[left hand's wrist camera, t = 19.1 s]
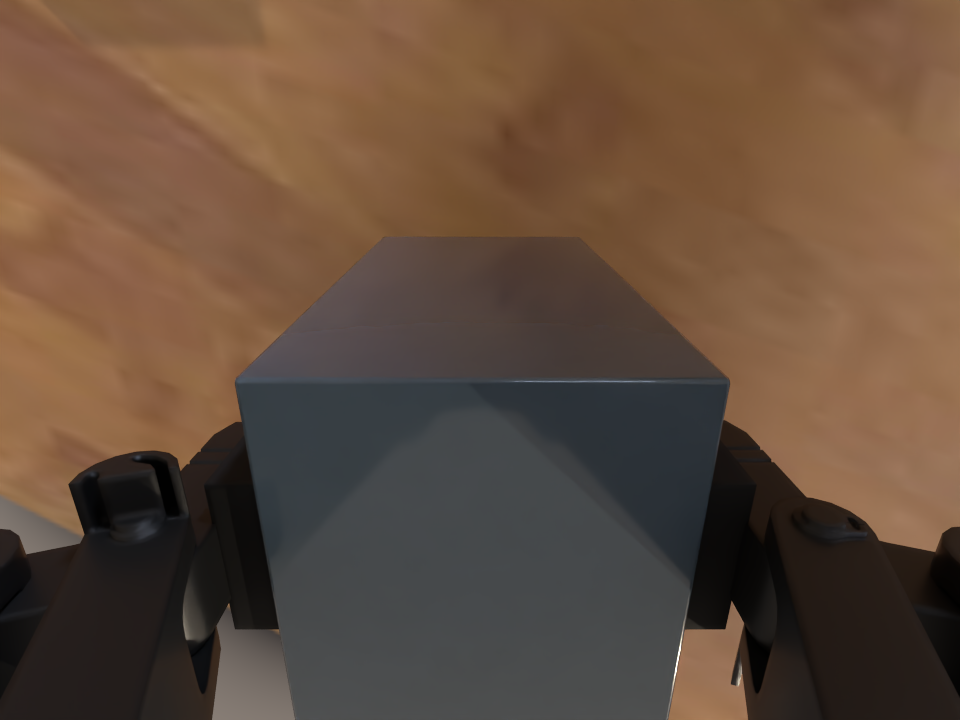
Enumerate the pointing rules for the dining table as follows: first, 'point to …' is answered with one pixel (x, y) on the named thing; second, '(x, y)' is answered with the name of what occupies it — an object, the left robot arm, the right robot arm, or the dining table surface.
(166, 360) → the dining table surface
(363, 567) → the block
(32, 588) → the left robot arm
